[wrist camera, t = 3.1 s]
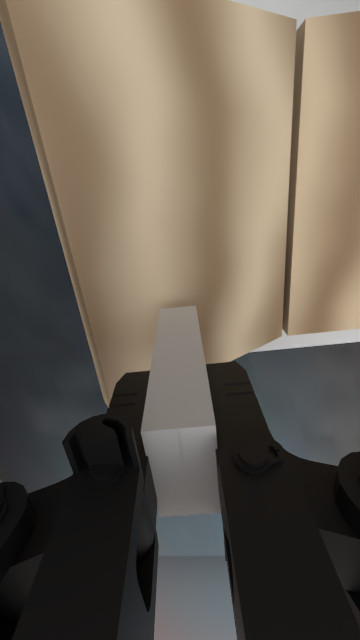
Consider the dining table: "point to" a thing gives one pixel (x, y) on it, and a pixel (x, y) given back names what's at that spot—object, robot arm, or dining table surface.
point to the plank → (162, 164)
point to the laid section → (324, 179)
